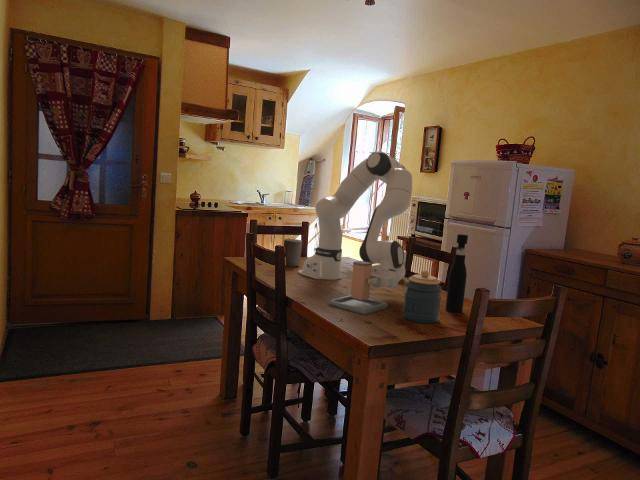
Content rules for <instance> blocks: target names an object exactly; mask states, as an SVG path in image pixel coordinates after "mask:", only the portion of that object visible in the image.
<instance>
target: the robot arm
mask: <svg viewBox="0 0 640 480" xmlns="http://www.w3.org/2000/svg"><path fill="white" fill-rule="evenodd" d="M377 180H379V181H381V182H383V183H384V184H386V188H385V193H384V196H383V197H382V198H383V199H382V200H381V202H380V203H379V204H378V205H377V206H376V207H375V208H374V210H373V213H372V215H371V219H370V222H369V224H368V228H367V230H366V233H365V237H364V239H363V241H362V243H361V245H360V246H359V251H358V253H359V257H360V259H361V261H364V262H370V263H372V268H371V279H370V278H368V279H366V283H367V284H370V285H372V287H375V288H381V287H382V288H384V287H385V288H387V289H388V288H389V289H391V288H392V289H395V288H397V287H398V285H399V282H400V281H401V279H402V278H403V277H405V275H406V266H405V267H404V265H403V261H404V251H403V250H404V248H403V246H402V244H401V243H400V242H399V241H397V240H379V237H380V233H381V231H382V227H383V225H384V224H385V223H386V222H387V221H388V220H390V219H392V218H395V217H398V216H399V215H402V214H403V213H404V212H406V211H407V210H408V209H409V207H410V204H411V199H412V192H413V175H412V173H411V172H410V171H409V170H408V169H406V168H405V166H403V164H401V163H400V162H399V161H398V160H397V159H395V158H393V156H390V155H388V154H387V153H386V152H383V151H380V150H376V151H373V152H372V153H370V154H369V156H367V158H364V159H363V160H362V161H360V163H358V164H357V165H356V166H355V167H354V168H353V169H352V170H351V171H350V172H349V173H348V175H346V176H345V178H344V179H343V180H342V181H341V182H340V184H339V187H338V189H337V190H336V191H335V193H334V194H333V195H330V196H325V197H322V198H320V200H318V201H317V203H316V205H315V208H314V209H315V214H316V215H317V218H318V220H317V221H318V228H319V235H318V236H319V237H318V246H317V247H314V248H313V251H315V252H314V254H313V255H311V256H310V257H309V258H307V259H306V260H305V261H303V265H302V269H299V270H297V274H300V275H303V276H306V277H308V278H312V279H315V280H331V281H332V280H341V279H343V275H342V268H341V267H342V265H341V264H342V263H341V262H342V257H343V255H342V254H343V249H342V245H343V243H342V242H343V230H342V225H341V219H343V218H344V217H346V216H347V215H348V214H349V213H350V211H351V209H352V208H353V206H354V205H355V204H356V202H357V201H358V200H359V198H361V197H362V196H363V194H364V193H365V192H366V191H367V190H368V189H369V188H370V187H371V186H372V185H373V184H374V182H376V181H377ZM352 276H353V268H348V269H347V270H346V279H349V280H351V281H352Z"/></svg>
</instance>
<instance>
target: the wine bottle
mask: <svg viewBox="0 0 640 480" xmlns="http://www.w3.org/2000/svg"><path fill="white" fill-rule="evenodd" d="M468 238H469V235H467V234H463V233H462V234H460V233H459V234H457V236H456V244H457V249H456V252H455V254H454V255H455V256H454V262H453V263H452V265H451V268H450V272H449V275H448V284H447V292H446V293H447V294H446V300H445V311H446V312H449V313H453V314H462V313H463V309H464V301H465V293H466V284H467V268H466V267H467V266H466V262H465V261H466V250H465V247H466V245H467V244H468Z"/></svg>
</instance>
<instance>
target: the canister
mask: <svg viewBox="0 0 640 480" xmlns="http://www.w3.org/2000/svg"><path fill="white" fill-rule="evenodd" d="M407 279H408V280H409V281H408V282H406V283H404V284H405V288H406V289H405V292H404V293H403V294H404V301H403V308H402V317H403V318H404V319H406V320H408V321H411V322H415V323H422V324H433V323H437V322H438V321H439V318H440V307H441V300H442V297H441V291H443V287H442V286H440V284H441V281H440V280H439V279H438V277H435V276H433V275H430V274H429V271H428V270H425V269H424V270H422V271H421V273H420V274H418V273H417V274H413V275H411V276H409V277H408V278H407Z"/></svg>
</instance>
